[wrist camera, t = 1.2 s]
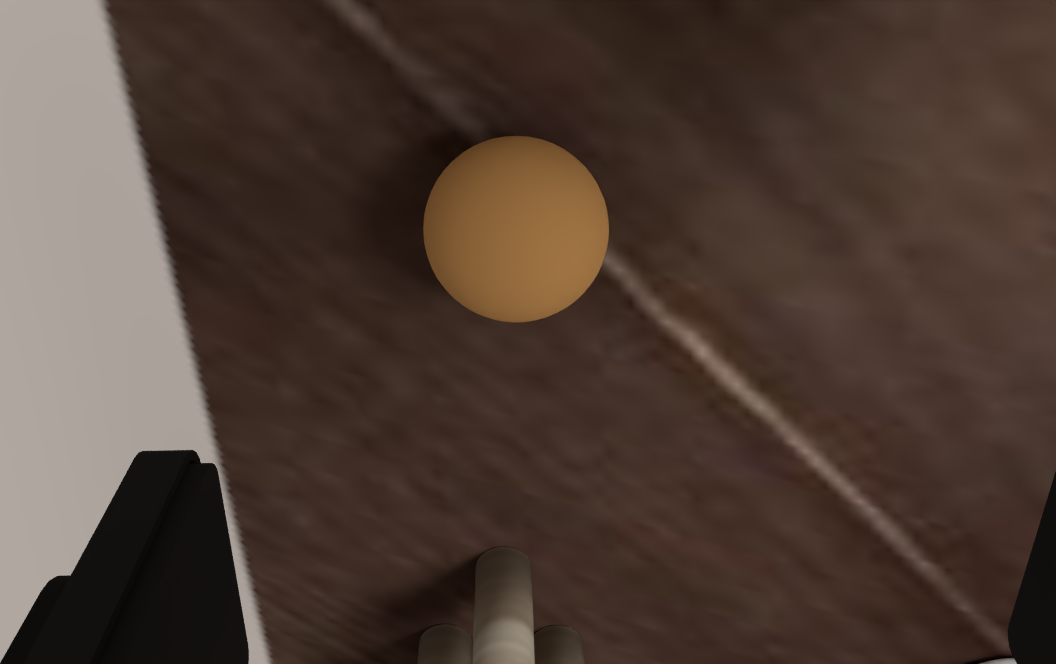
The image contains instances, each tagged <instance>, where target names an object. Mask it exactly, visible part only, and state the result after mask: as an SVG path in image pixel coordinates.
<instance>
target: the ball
mask: <svg viewBox="0 0 1056 664" xmlns="http://www.w3.org/2000/svg"><path fill="white" fill-rule="evenodd" d="M423 234H424V244H425V249H426V253H427V256H428V259H429V262H430V264H431V267H432V270H433V271H434V273H435V275H436V277H437V279H438V280H439V281H440V283H441V284H442V286H443V287H444V288H445V289H446V291H447V292H448V293H449V294H450V295H451V296H452V297H453V298H454V299H455V300H457V301H458V302H459V303H460V304H462V305H463V306H464V307H466V308H468V309H469V310H471V311H473V312H475V313H477V314H479V315H481V316H484V317H487V318H491V319H494V320H499V321H504V322H528V321H534V320H538V319H542V318H546V317H548V316H550V315H553V314H555V313H558V312H559V311H561V310H563V309H565V308H567V307H568V306H569V305H571V304H572V303H573V302H575V301H576V300H577V299H578V298H579V297H580V296H581V295H582V294H583V293H584V292H585V291H586V290H587V288H588V287H589V286H590V285H591V283H592V282H593V280H594V279H595V277H596V276H597V274H598V272H599V270H600V268H601V266H602V263H603V260H604V257H605V253H606V250H607V245H608V238H609V222H608V214H607V208H606V204H605V201H604V198H603V196H602V193H601V191H600V189H599V186H598V184H597V183H596V181H595V179H594V178H593V176H592V175H591V173H590V172H589V171H588V170H587V168H586V167H585V166H584V165H583V164H582V163H581V162H580V161H579V160H578V159H576V158H575V157H574V156H573V155H572V154H570V153H569V152H567V151H566V150H565V149H563V148H561V147H559V146H557V145H555V144H553V143H551V142H548V141H545V140H542V139H538V138H533V137H527V136H505V137H499V138H494V139H490V140H487V141H484V142H481V143H479V144H477V145H475V146H473V147H471V148H469V149H468V150H466V151H464V152H463V153H462V154H460V155H459V156H458V157H457V158H455V159H454V160H453V161H452V162H451V163H450V164H449V165H448V166H447V168H446V169H445V170H444V171H443V172H442V174H441V175H440V176H439V178H438V179H437V181H436V183H435V185H434V187H433V189H432V191H431V193H430V196H429V199H428V202H427V205H426V209H425V214H424V226H423Z"/></svg>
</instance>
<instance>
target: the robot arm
mask: <svg viewBox="0 0 1056 664" xmlns="http://www.w3.org/2000/svg"><path fill="white" fill-rule="evenodd" d="M1008 641H1009V647H1010V650H1011V653H1012V656H1013V658H1014V660H1015V661H1016V663H1017V664H1056V472H1055V476H1054V479H1053V482H1052V485H1051V489H1050V492H1049V495H1048V498H1047V502H1046V505H1045V508H1044V512H1043V515H1042V518H1041V521H1040V525H1039V528H1038V531H1037V534H1036V538H1035V541H1034V544H1033V547H1032V551H1031V554H1030V557H1029V560H1028V564H1027V567H1026V570H1025V574H1024V577H1023V580H1022V583H1021V587H1020V590H1019V593H1018V596H1017V600H1016V603H1015V606H1014V609H1013V613H1012V616H1011V619H1010V622H1009V627H1008ZM248 660H249V650H248V642H247V636H246V630H245V624H244V619H243V613H242V607H241V602H240V596H239V590H238V584H237V579H236V573H235V567H234V561H233V556H232V550H231V544H230V538H229V533H228V527H227V521H226V515H225V510H224V504H223V498H222V493H221V487H220V481H219V475H218V471H217V468H216V466H215V465H214V464H213V463H201V462H200V459H199V456H198V455H197V453H196V452H195V451H193V450H177V451H176V450H174V451H142V452H139V453H138V454H137V455H136V457H135V458H134V460H133V462H132V464H131V465H130V467H129V469H128V471H127V473H126V475H125V476H124V478H123V480H122V482H121V484H120V486H119V488H118V490H117V491H116V493H115V495H114V497H113V499H112V501H111V502H110V504H109V506H108V508H107V510H106V512H105V513H104V515H103V517H102V519H101V521H100V523H99V524H98V527H97V528H96V530H95V532H94V534H93V535H92V537H91V539H90V541H89V543H88V545H87V547H86V549H85V550H84V552H83V554H82V556H81V558H80V560H79V561H78V563H77V565H76V567H75V569H74V571H73V572H72V574H71V576H57V577H55V578H53V579H52V580H50V581H49V582H48V583H47V584H46V586H45V587H44V588H43V590H42V591H41V592H40V594H39V596H38V598H37V599H36V601H35V603H34V605H33V606H32V608H31V610H30V612H29V614H28V615H27V617H26V619H25V620H24V622H23V624H22V626H21V627H20V629H19V631H18V633H17V635H16V636H15V638H14V640H13V642H12V643H11V645H10V647H9V649H8V650H7V652H6V654H5V656H4V658H3V659H2V661H1V663H0V664H248Z"/></svg>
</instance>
